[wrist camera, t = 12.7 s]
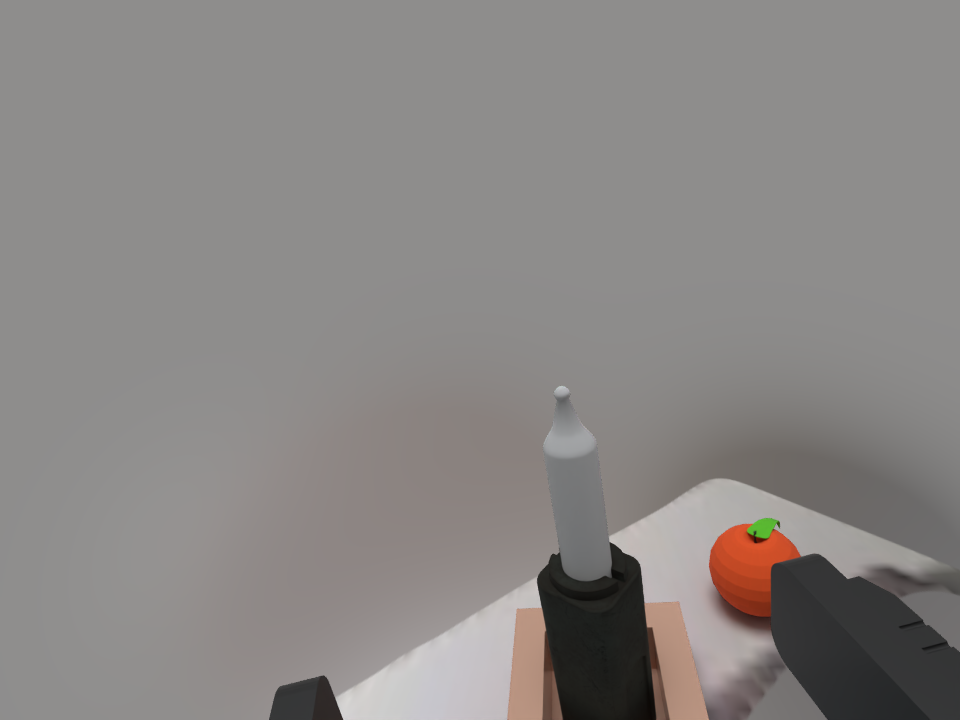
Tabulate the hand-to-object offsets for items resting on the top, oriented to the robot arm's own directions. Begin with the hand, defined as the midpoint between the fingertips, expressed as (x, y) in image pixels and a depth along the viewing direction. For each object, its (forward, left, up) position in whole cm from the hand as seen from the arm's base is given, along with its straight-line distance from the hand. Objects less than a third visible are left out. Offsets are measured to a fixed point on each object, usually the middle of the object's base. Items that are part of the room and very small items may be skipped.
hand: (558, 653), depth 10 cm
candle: (0, +20, -29) cm, 35 cm away
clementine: (+12, +31, -30) cm, 45 cm away
